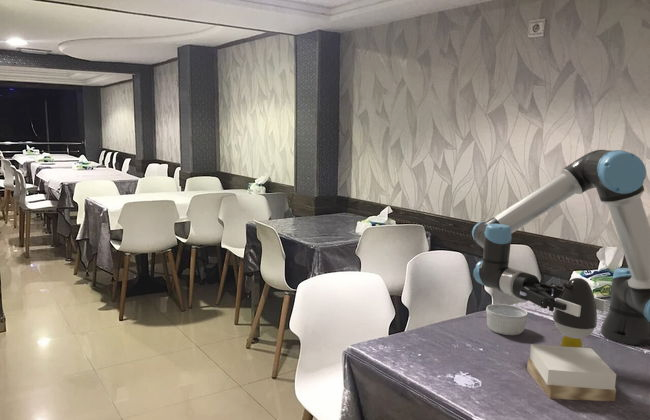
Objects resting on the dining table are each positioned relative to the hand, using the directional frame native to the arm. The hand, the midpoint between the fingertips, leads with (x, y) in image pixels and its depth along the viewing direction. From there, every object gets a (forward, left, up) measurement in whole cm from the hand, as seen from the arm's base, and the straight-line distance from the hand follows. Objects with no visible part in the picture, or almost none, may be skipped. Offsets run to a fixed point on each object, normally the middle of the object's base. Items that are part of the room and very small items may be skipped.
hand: (592, 308), depth 131 cm
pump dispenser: (+2, -4, -9) cm, 10 cm away
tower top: (+2, -4, -19) cm, 19 cm away
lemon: (-6, -21, -23) cm, 31 cm away
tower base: (+2, -4, -23) cm, 24 cm away
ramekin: (+6, -43, -23) cm, 49 cm away
